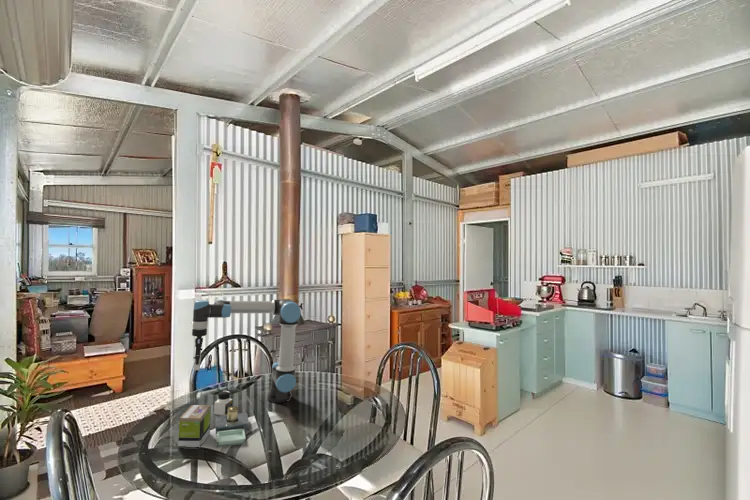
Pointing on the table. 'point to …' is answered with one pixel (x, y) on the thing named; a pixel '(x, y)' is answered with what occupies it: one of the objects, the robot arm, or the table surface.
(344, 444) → the table surface
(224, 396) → the medicine bottle
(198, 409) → the tea box
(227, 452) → the table surface
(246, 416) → the grey rectangular slab
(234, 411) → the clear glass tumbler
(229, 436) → the parts tray
